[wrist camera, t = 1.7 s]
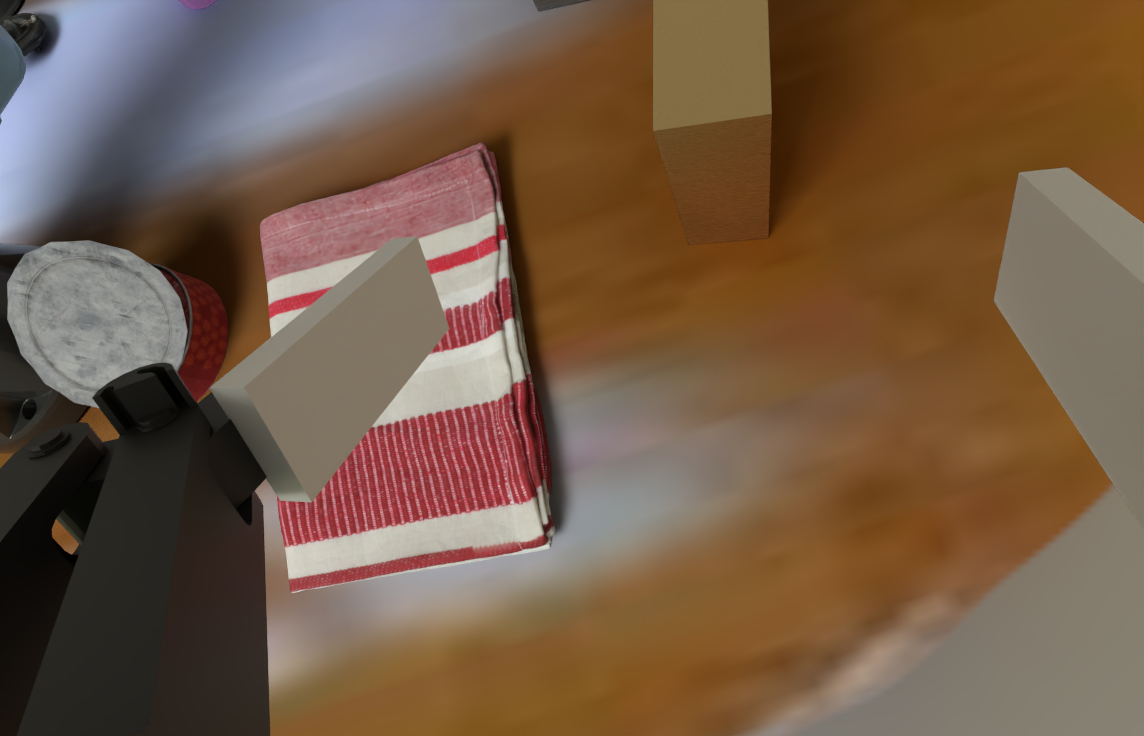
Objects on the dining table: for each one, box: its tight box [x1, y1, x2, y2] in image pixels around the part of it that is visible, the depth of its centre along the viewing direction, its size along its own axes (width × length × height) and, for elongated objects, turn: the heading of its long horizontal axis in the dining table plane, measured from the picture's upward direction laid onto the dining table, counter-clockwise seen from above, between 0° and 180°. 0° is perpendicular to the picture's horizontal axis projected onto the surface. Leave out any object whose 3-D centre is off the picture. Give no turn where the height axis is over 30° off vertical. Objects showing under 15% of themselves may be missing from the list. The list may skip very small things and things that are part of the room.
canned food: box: [7, 240, 228, 408], centre depth 39 cm, size 11×10×10 cm
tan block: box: [653, 0, 772, 245], centre depth 27 cm, size 4×10×11 cm, turn 178°
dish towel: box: [260, 143, 555, 593], centre depth 35 cm, size 17×23×3 cm
